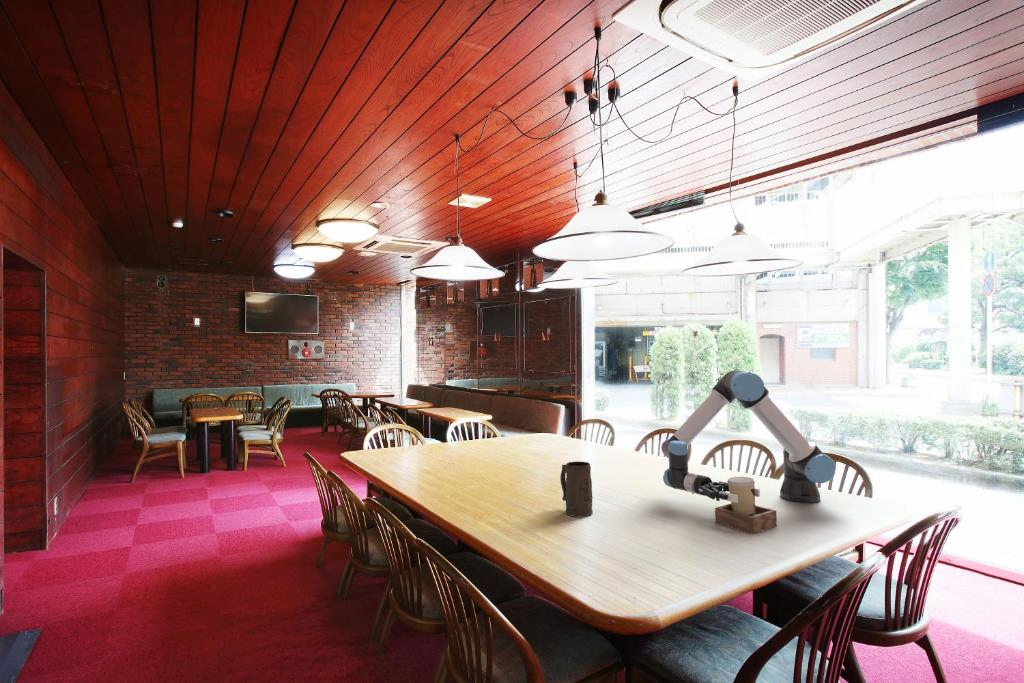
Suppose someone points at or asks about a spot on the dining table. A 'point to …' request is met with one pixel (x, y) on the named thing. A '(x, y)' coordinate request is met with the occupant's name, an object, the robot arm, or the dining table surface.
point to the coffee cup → (743, 494)
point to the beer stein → (577, 488)
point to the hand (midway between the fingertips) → (748, 496)
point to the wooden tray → (746, 518)
